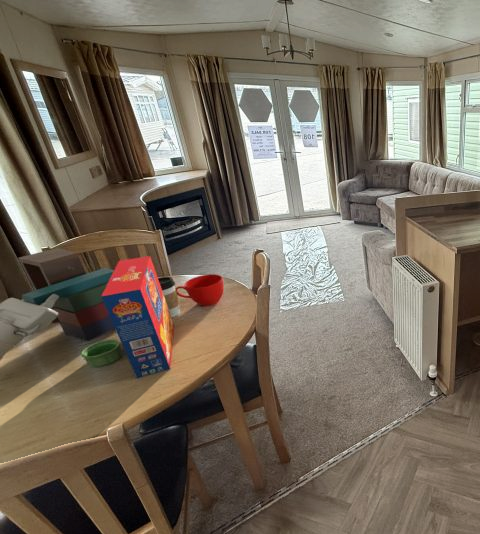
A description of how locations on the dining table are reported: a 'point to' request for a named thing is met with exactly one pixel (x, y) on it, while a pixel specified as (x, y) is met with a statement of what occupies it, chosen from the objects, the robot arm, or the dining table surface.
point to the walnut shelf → (51, 268)
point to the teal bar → (69, 286)
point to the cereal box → (140, 315)
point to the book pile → (84, 313)
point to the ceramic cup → (204, 289)
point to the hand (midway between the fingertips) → (48, 292)
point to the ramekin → (102, 352)
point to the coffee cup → (170, 295)
